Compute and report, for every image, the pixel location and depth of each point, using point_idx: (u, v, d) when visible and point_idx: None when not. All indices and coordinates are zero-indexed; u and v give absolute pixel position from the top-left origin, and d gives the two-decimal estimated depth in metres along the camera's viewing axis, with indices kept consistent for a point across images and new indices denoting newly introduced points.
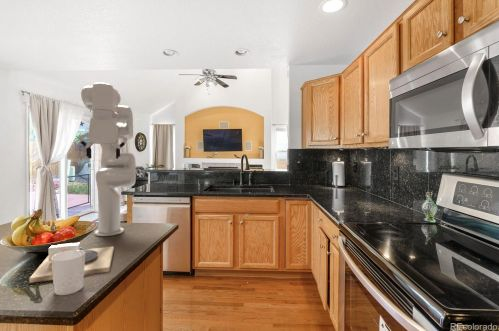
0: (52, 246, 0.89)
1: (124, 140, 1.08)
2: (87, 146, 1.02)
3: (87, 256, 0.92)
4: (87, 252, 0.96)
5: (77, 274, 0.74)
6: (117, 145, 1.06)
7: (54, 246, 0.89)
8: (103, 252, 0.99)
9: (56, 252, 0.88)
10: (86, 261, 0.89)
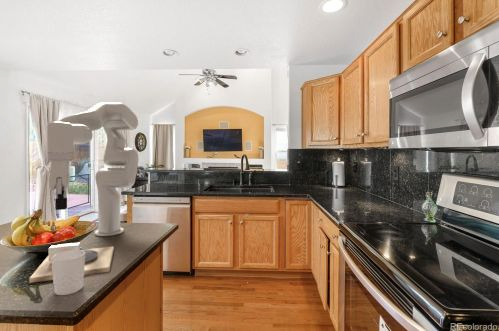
0: (52, 246, 0.89)
1: None
2: (65, 196, 0.93)
3: (87, 256, 0.92)
4: (87, 252, 0.96)
5: (77, 274, 0.74)
6: None
7: (54, 246, 0.89)
8: (103, 252, 0.99)
9: (56, 252, 0.88)
10: (86, 261, 0.89)
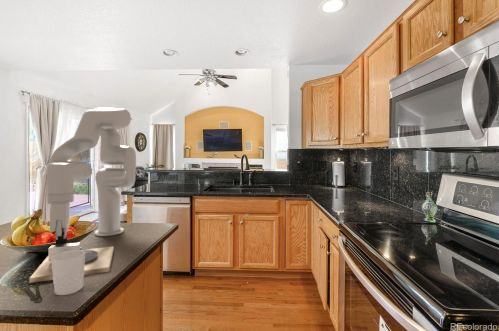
0: (52, 246, 0.89)
1: None
2: (65, 237, 0.93)
3: (87, 256, 0.92)
4: (87, 252, 0.96)
5: (77, 274, 0.74)
6: (66, 232, 0.95)
7: (54, 246, 0.89)
8: (103, 252, 0.99)
9: (56, 252, 0.88)
10: (86, 261, 0.89)
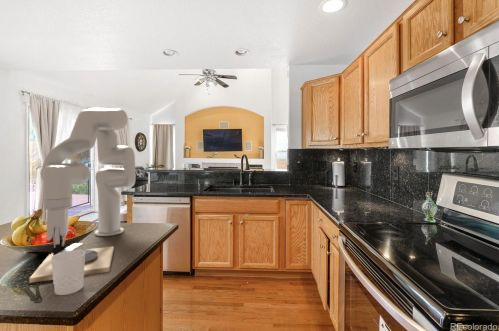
0: None
1: None
2: (63, 244, 0.87)
3: (87, 252, 0.95)
4: None
5: (77, 274, 0.74)
6: (64, 239, 0.89)
7: (66, 250, 0.85)
8: (103, 252, 0.99)
9: None
10: None
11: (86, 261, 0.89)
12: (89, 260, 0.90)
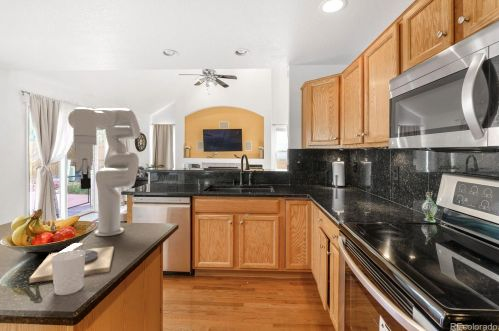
0: None
1: None
2: None
3: (87, 252, 0.95)
4: None
5: (77, 274, 0.74)
6: None
7: (66, 250, 0.85)
8: (103, 252, 0.99)
9: None
10: None
11: (86, 261, 0.89)
12: (89, 260, 0.90)
